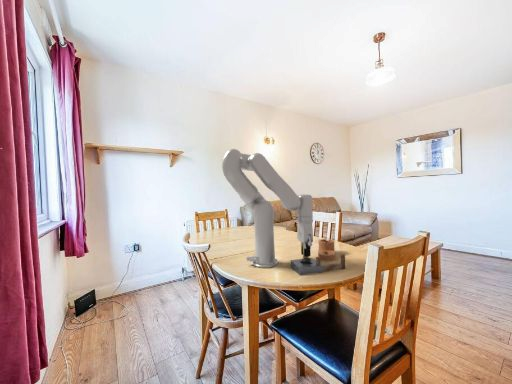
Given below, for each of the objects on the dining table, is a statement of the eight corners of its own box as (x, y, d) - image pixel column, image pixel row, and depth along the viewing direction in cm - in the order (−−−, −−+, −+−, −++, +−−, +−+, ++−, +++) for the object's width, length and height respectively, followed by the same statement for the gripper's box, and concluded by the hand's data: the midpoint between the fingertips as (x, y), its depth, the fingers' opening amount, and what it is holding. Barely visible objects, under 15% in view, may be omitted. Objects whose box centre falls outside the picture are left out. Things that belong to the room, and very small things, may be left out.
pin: (304, 261, 116) (304, 241, 116) (302, 259, 119) (301, 240, 119) (309, 261, 117) (309, 241, 116) (307, 259, 119) (307, 239, 119)
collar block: (299, 274, 100) (299, 268, 100) (290, 266, 110) (290, 260, 110) (323, 272, 102) (323, 265, 102) (312, 263, 113) (312, 257, 112)
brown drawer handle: (317, 272, 102) (316, 258, 102) (315, 270, 104) (314, 257, 104) (346, 268, 104) (346, 255, 104) (343, 267, 106) (343, 254, 106)
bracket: (319, 250, 135) (318, 238, 135) (334, 251, 132) (333, 239, 132) (318, 260, 118) (317, 247, 117) (335, 261, 115) (334, 247, 115)
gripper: (292, 217, 125) (293, 251, 125) (304, 222, 109) (305, 261, 109) (305, 216, 126) (306, 250, 126) (319, 221, 110) (320, 259, 111)
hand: (305, 255), depth 118 cm, fingers closed on pin, 2 cm apart
